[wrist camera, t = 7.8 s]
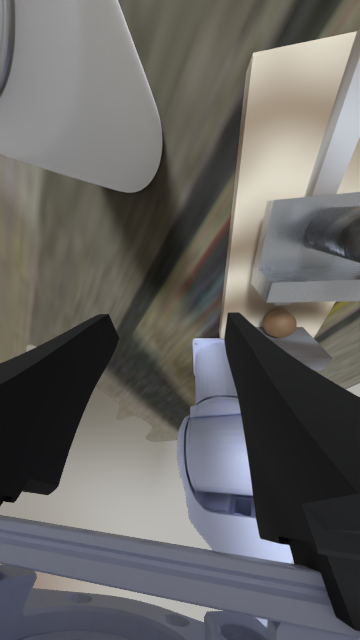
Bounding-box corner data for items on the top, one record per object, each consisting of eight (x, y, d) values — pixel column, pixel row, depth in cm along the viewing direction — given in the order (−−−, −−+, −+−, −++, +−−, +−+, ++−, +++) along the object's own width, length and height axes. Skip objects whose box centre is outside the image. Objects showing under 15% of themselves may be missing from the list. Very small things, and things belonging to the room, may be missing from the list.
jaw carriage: (340, 279, 14) (446, 326, 8) (250, 282, 15) (285, 327, 9) (391, 189, 10) (659, 155, 4) (267, 201, 11) (346, 186, 5)
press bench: (305, 332, 21) (342, 372, 16) (218, 332, 22) (225, 368, 17) (471, 29, 8) (971, -305, 3) (245, 73, 10) (306, -98, 4)
